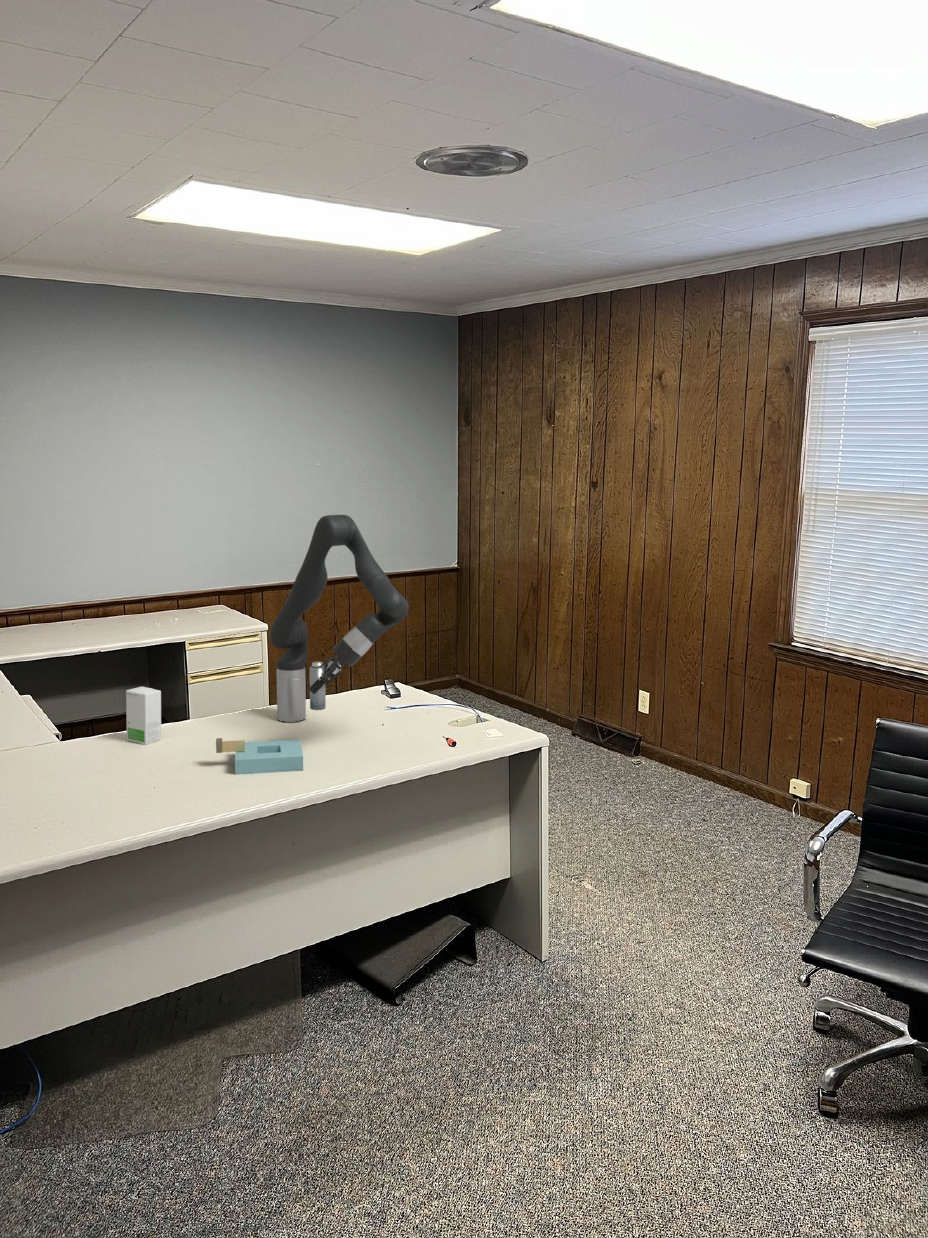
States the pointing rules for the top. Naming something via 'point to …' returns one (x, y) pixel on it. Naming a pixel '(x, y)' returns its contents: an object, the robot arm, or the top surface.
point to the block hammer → (229, 746)
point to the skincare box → (143, 715)
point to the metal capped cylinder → (320, 696)
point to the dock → (269, 757)
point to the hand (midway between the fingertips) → (310, 689)
